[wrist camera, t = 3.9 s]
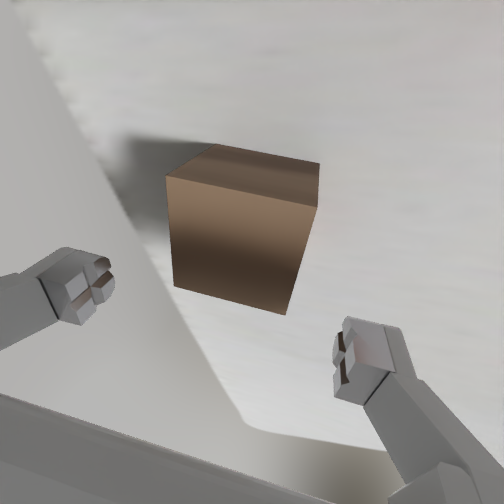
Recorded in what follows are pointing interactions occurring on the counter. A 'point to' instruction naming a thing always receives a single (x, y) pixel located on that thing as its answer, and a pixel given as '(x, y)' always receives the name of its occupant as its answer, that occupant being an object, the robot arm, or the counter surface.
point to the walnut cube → (241, 224)
